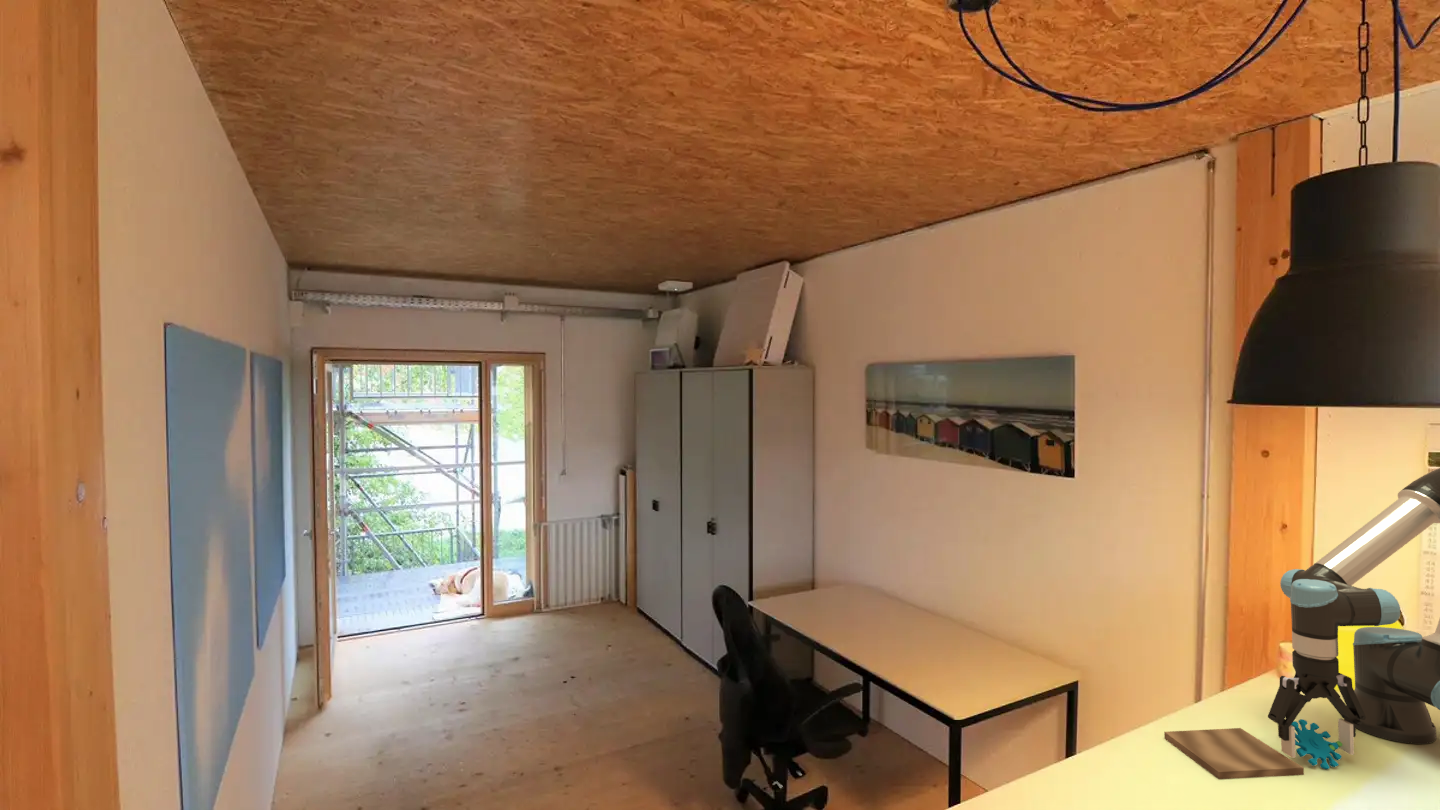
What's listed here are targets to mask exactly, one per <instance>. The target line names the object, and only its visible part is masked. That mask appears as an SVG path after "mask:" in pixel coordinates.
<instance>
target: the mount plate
mask: <svg viewBox="0 0 1440 810" xmlns="http://www.w3.org/2000/svg"><path fill="white" fill-rule="evenodd" d="M1164 739H1165V740H1167V741H1168V742H1169V743H1171V745H1173V746H1174V747H1176V748H1177V749H1179V750H1180V751H1181V752H1182V753H1183V754H1185V755H1187V757H1189V758H1190V759H1192V760H1193V761H1195V763H1197V764H1198V765H1199V766H1201V767H1202V768H1203V769H1205V770H1206V771H1208V772H1209V774H1212V776H1214V777H1215V778H1217V779H1218V780H1229V779H1247V778H1248V779H1249V778H1267V777H1290V776H1304V775H1305V769H1304V768H1305V767H1303V766H1302V765H1301V764H1299V763H1297V762H1296V761H1294V760H1292V759H1290V758H1289V757H1288V756H1286V755H1284V753H1281V752H1279V751H1278V750H1276V749H1275V748H1274V747H1271V745H1268V744H1267V743H1265V742H1263V741H1262V740H1260V739H1259V738H1257V737H1256V736H1254V735H1252V734H1250V733H1249V732H1247V731H1246V730H1244V729H1243V728H1241V727H1234V728H1214V729H1193V730H1192V729H1191V730H1173V731H1164Z"/></svg>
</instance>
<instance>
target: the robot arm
mask: <svg viewBox="0 0 1440 810" xmlns="http://www.w3.org/2000/svg"><path fill="white" fill-rule="evenodd" d="M1433 524H1440V467H1438V468H1436V469H1434V470H1432V471H1430V472H1428V473H1426V474H1423V475H1422V476H1420V477H1419V478H1416V479H1415V480H1413V481H1412V482H1411V483H1408V485H1406V486H1405V487H1403V488H1402V489H1400V491H1398V493H1397V499H1396V500H1394V502H1393V503H1391V504H1390V505H1389V506H1387V507H1386V508H1385V509H1384V510H1382V511H1381V512H1380V513H1378V514H1377V515H1376V516H1375V517H1373V518H1372V519H1370V520H1369V521H1368V522H1367V523H1365V524H1364V525H1362V526H1361V527H1360V528H1359V529H1357V530H1356V531H1355V532H1353V533H1352V534H1351V535H1349V536H1348V537H1347V538H1346V539H1345V540H1343V541H1341V543H1340V544H1338V545H1337V546H1336V547H1334V548H1333V549H1331V550H1329V552H1328V553H1326V554H1325V555H1323V557H1321V558H1320V559H1319V560H1317V561H1316V562H1315V563H1314V564H1312V565H1311V566H1310V567H1308V568H1307V569H1306V570H1305V569H1300V568H1295V569H1294V568H1293V569H1289V570H1288V571H1286V572H1285V573H1283V574H1282V576H1281V578H1280V582H1279V583H1280V589H1281V591H1282V593H1283V594H1284V596H1286V597H1287V598H1288V599H1289V601H1290V613H1291V614H1290V615H1291V616H1290V617H1291V643H1292V644H1291V647H1292V649H1293V651H1292V654H1291V657H1292V667H1293V669H1294V672H1295V673H1294V676H1293V677H1287V676H1285V675H1280V676H1279V687H1278V689H1277V692H1276V694H1275V696H1274V699H1273V701H1272V704H1271V707H1270V709H1269V712H1268V713H1267V714H1268V715H1267V718H1268V720H1271V721H1272V722H1274V723H1276V724H1277V729H1278V730H1277V733H1278V735H1277V736H1278V737H1279V739H1280V742H1281V743H1280V745H1281V746H1280V747H1281V749H1280V750H1281V752H1282V753H1283V754H1285V755H1287V756H1289V757H1291V758H1296V745H1295V739H1296V738H1295V733H1296V730H1295V727H1293V726H1291V724H1292V723H1293V722H1294V721H1295V720H1296V718H1297V717H1298V716H1299V714H1300V713H1301V711H1302V710H1303V708H1304V707H1305V706H1306V704H1307V703H1311V701H1312V699H1313V700H1314V699H1320V698H1322V699H1327V700H1328V701H1329V703H1331V705H1332V706H1333V707H1334V709H1335V710H1336V712H1338V714H1339V715H1340V716H1341V718H1338V719H1337V723H1338V726H1337V727H1338V729H1337V731H1338V741H1340V742H1341V743H1342V746H1340V747H1338V750H1341V751H1343V752H1345V753H1347V755H1350V756H1353V755H1355V750H1354V749H1355V747H1354V745H1355V744H1354V742H1355V737H1356V735H1357V730H1359V731H1361V732H1364V733H1367V734H1369V735H1372V736H1374V737H1378V738H1381V739H1385V740H1389V741H1393V742H1399V743H1404V744H1405V743H1406V744H1414V745H1415V744H1416V745H1425V744H1426V745H1427V744H1431V742H1432V743H1433V742H1435V741H1436V740H1437V728H1436V725H1435V724H1434V723H1433V722H1432V721H1433V720H1432V717H1431V715H1430V712H1429V709H1428V707H1427V705H1426V704H1428V705H1430V706H1432V707H1434V708H1436V709H1437V710H1438V711H1440V618H1439V620H1438V622H1437V625H1436V628H1435V632H1433V633H1432V634H1428V635H1425V636H1423V635H1422V634H1421V633H1419V632H1416V631H1412V630H1408V629H1402V628H1396V627H1395V628H1394V627H1383V626H1387V625H1388V626H1389V625H1392V624H1394V623H1396V622H1397V621H1398V620H1399V619H1400V617H1401V605H1400V603H1399V601H1398V599H1397V597H1395V596H1394V595H1393V594H1392V592H1389V591H1388V590H1386V589H1382V588H1373V587H1368V588H1360V587H1357V586H1354V584H1355V583H1357V582H1358V581H1360V580H1361V579H1363V578H1364V577H1365V576H1366V575H1367V574H1369V573H1370V572H1371V571H1372V570H1374V569H1375V568H1376V567H1378V566H1379V565H1380V564H1382V563H1384V562H1385V561H1386V560H1388V559H1389V558H1390V557H1391V556H1393V555H1394V554H1395V553H1396V552H1398V551H1399V550H1400V549H1402V548H1403V547H1405V546H1406V545H1407V544H1409V542H1411V541H1412V540H1413V539H1414V538H1416V537H1417V536H1419V535H1420V534H1421V533H1422V532H1424V531H1425V530H1427V529H1428V528H1429V527H1431V526H1432V525H1433ZM1362 626H1364V627H1362ZM1365 626H1366V627H1365ZM1339 627H1360V628H1358V629H1357V630H1356V629H1355V632H1354V634H1353V635H1354V636H1353V643H1352V646H1353V647H1352V648H1353V664H1354V666H1353V668H1354V670H1353V671H1354V687H1353V679H1352V677H1350V676H1348V675H1345V674H1343V673H1341V672H1339V670H1340V668H1339V667H1340V666H1339V659H1338V658H1337V657H1339ZM1336 686H1337V688H1338V690H1339V692H1340V694H1339V693H1338V692H1337V690H1336ZM1341 697H1342V698H1341Z"/></svg>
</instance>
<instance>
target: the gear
mask: <svg viewBox="0 0 1440 810" xmlns="http://www.w3.org/2000/svg"><path fill="white" fill-rule="evenodd" d="M1299 725H1300V728H1301V729H1300V728H1299ZM1307 725H1308V721H1307V720H1306V719H1302V718H1301V719H1298V721H1295V720H1294V721H1293V723H1292V724H1291V726H1293V727H1295V747H1296V746H1297V747H1298V748H1295V753H1297V754H1296V755H1298V756H1299V757H1300V758H1303V757H1305V756H1306V755H1308V756H1310V758H1309V759H1308V760H1307V762H1308V764H1310V765H1311V766H1312V767H1315V766H1316V765H1318V759H1319V760H1320V761H1321V763H1320V764H1319V767H1320V768H1321V769H1323V770H1327V771H1328V770H1329V769H1331V768H1336V767H1338V766H1340V765H1339V763H1338V761H1340V760H1341V759H1342V755H1341V753H1338V752H1336V751H1337V750H1339V747H1340V746H1342V743H1341V742H1340V741H1339V740H1337V741H1328V740H1327V739H1330V738H1331V737H1332V735H1330V733H1329V731H1327V730H1324V731H1323V732H1321V733H1318V732H1316V730H1319V729H1320V726H1319V725H1318V724H1317V723H1315V722H1312V723H1310V724H1309V727H1310V729H1308V728H1307ZM1327 761H1328V762H1327ZM1330 767H1331V768H1330Z"/></svg>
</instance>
